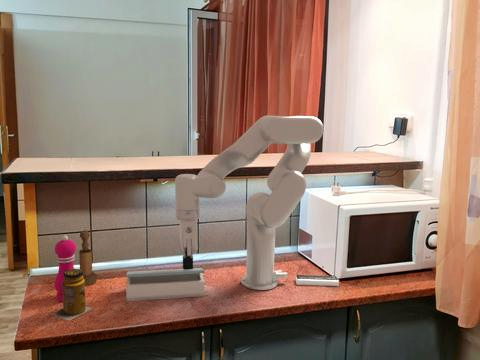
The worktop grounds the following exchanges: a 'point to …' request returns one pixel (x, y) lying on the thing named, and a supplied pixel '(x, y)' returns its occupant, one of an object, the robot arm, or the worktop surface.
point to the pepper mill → (63, 262)
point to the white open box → (165, 287)
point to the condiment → (72, 295)
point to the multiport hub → (316, 280)
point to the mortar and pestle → (86, 260)
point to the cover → (164, 272)
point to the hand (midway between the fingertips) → (187, 268)
